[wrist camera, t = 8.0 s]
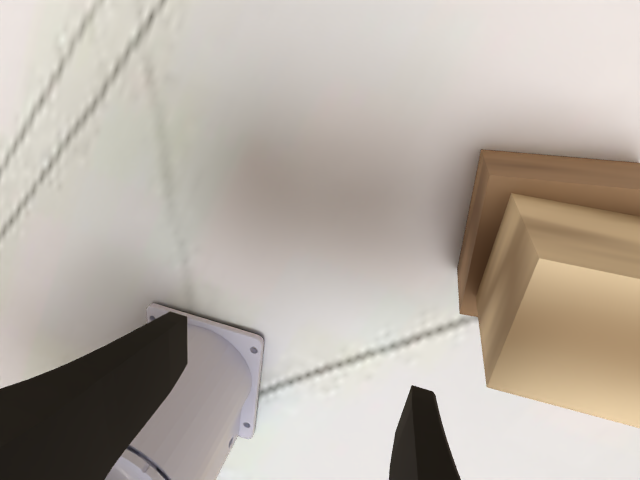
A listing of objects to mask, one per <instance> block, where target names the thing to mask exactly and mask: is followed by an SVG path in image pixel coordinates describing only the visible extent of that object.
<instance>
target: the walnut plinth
mask: <svg viewBox="0 0 640 480" xmlns="http://www.w3.org/2000/svg"><path fill="white" fill-rule="evenodd" d="M511 193H514V194H519V195H524V196H530V197H535V198H541V199H546V200H552V201H557V202H562V203H568V204H573V205H579V206H584V207H590V208H595V209H600V210H606V211H611V212H617V213H622V214H628V215H633V216H638V217H640V163H634V162H622V161H611V160H599V159H587V158H575V157H564V156H552V155H540V154H528V153H517V152H505V151H493V150H481V153H480V158H479V163H478V168H477V173H476V178H475V183H474V188H473V193H472V198H471V203H470V208H469V213H468V218H467V223H466V228H465V233H464V238H463V243H462V248H461V253H460V258H459V263H458V268H457V274H458V292H459V309H460V314H464V315H470V316H476V317H478V311H477V303H476V295H477V292H478V289H479V286H480V283H481V280H482V277H483V274H484V271H485V268H486V265H487V263H488V260H489V257H490V254H491V251H492V248H493V245H494V242H495V239H496V236H497V233H498V230H499V227H500V225H501V222H502V219H503V216H504V213H505V210H506V207H507V204H508V201H509V198H510V195H511Z"/></svg>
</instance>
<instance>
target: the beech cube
mask: <svg viewBox="0 0 640 480" xmlns="http://www.w3.org/2000/svg"><path fill="white" fill-rule="evenodd" d="M476 303H477V311H478V320H479V328H480V336H481V344H482V352H483V361H484V369H485V377H486V385H487V387H488V388H492V389H495V390H499V391H503V392H507V393H510V394H514V395H518V396H522V397H525V398H529V399H533V400H537V401H540V402H544V403H548V404H551V405H555V406H559V407H563V408H566V409H570V410H574V411H578V412H581V413H585V414H589V415H593V416H596V417H600V418H604V419H607V420H611V421H615V422H619V423H622V424H626V425H630V426H634V427H637V428H640V217H638V216H633V215H628V214H622V213H617V212H611V211H606V210H600V209H595V208H590V207H584V206H579V205H573V204H568V203H562V202H557V201H552V200H546V199H541V198H535V197H530V196H524V195H519V194H514V193H511V195H510V198H509V201H508V204H507V207H506V210H505V213H504V216H503V219H502V222H501V225H500V227H499V230H498V233H497V236H496V239H495V242H494V245H493V248H492V251H491V254H490V257H489V260H488V263H487V265H486V268H485V271H484V274H483V277H482V280H481V283H480V286H479V289H478V292H477V295H476Z"/></svg>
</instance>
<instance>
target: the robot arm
mask: <svg viewBox="0 0 640 480" xmlns="http://www.w3.org/2000/svg"><path fill="white" fill-rule="evenodd" d="M146 315H147V324H146V325H144V326H142V327H140V328H138V329H136V330H134V331H133V332H131V333H129V334H127V335H125V336H123V337H121V338H119V339H117V340H115V341H114V342H112V343H110V344H108V345H106V346H104V347H102V348H100V349H97V350H95V351H93V352H91V353H89V354H87V355H85V356H83V357H81V358H79V359H76V360H74V361H72V362H70V363H68V364H65V365H63V366H61V367H58V368H56V369H54V370H51V371H49V372H46V373H43V374H41V375H38V376H36V377H33V378H31V379H28V380H25V381H22V382H19V383H16V384H13V385H10V386H7V387H4V388H1V389H0V480H216V478H217V476H218V474H219V472H220V470H221V468H222V466H223V464H224V462H225V460H226V458H227V456H228V454H229V452H230V451H231V449H232V447H233V445H234V443H235V441H236V439H237V437H238V436H240V437H243V438H245V439H251V438H252V437H253V435H254V431H255V422H256V413H257V403H258V394H259V385H260V375H261V366H262V357H263V348H264V340H263V338H262V337H261V336H259V335H257V334H254V333H250V332H247V331H244V330H241V329H237V328H234V327H231V326H227V325H224V324H221V323H218V322H214V321H211V320H208V319H204V318H201V317H198V316H195V315H191V314H188V313H185V312H181V311H178V310H175V309H172V308H168V307H165V306H162V305H158V304H154V303H152V304H150V305H149V306H148V307H147V308H146ZM253 347H255V348H256V349H254V348H253ZM389 480H461V479H460V476H459V474H458V471H457V468H456V465H455V462H454V459H453V457H452V454H451V451H450V448H449V445H448V442H447V438H446V435H445V432H444V428H443V425H442V421H441V418H440V414H439V410H438V405H437V401H436V396H435V394H434V393H433V392H432V391H429V390H426V389H423V388H419V387H416V386H413V385H412V386H411V389H410V392H409V395H408V398H407V400H406V403H405V406H404V409H403V412H402V415H401V418H400V420H399V423H398V426H397V429H396V432H395V438H394V444H393V450H392V456H391V463H390V472H389Z"/></svg>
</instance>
